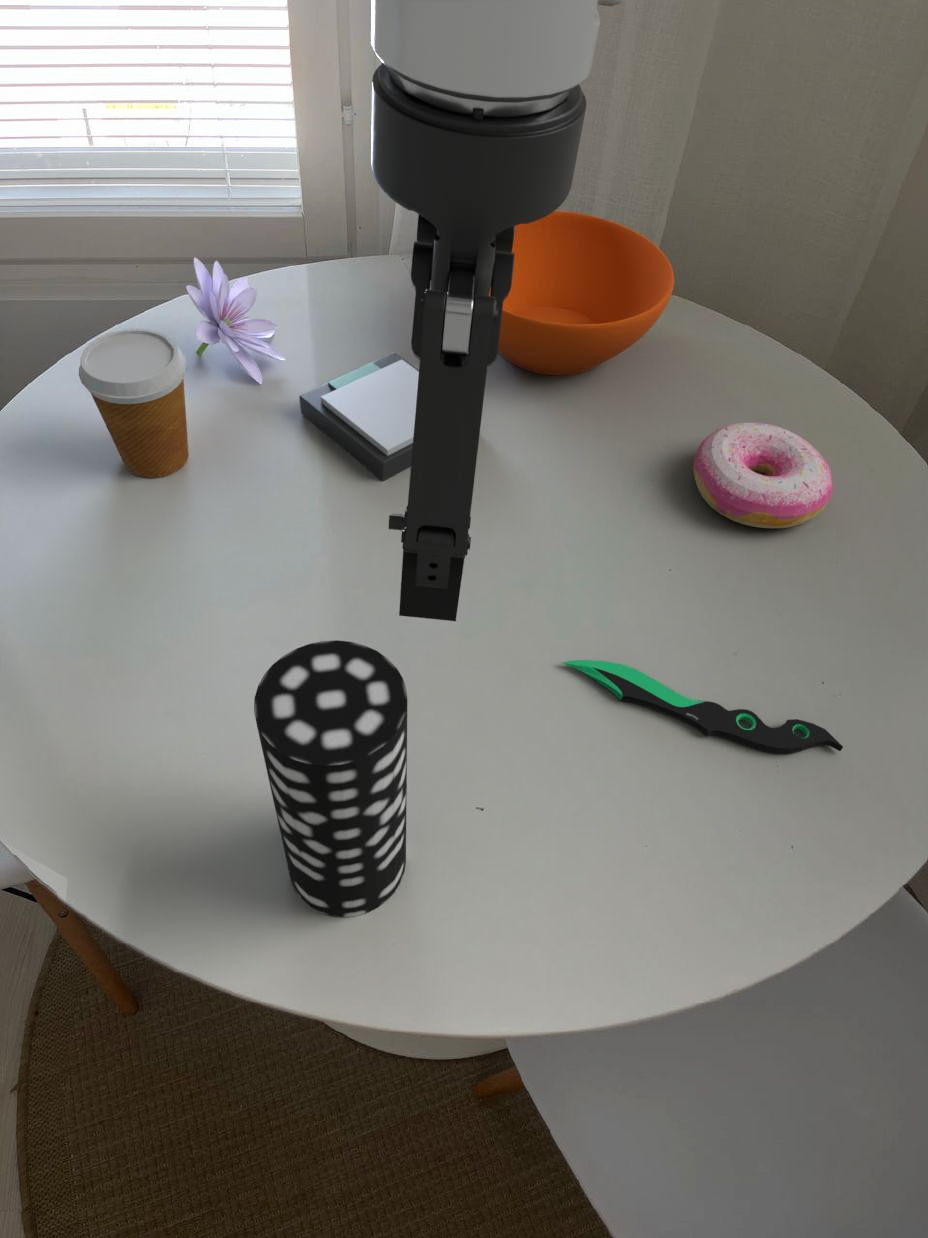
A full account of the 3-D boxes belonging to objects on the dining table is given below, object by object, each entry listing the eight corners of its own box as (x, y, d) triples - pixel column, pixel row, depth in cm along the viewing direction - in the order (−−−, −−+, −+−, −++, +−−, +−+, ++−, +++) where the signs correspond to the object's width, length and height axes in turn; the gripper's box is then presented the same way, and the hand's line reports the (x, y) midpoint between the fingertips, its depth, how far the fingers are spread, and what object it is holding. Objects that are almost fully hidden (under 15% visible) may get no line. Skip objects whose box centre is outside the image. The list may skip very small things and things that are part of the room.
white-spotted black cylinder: (294, 927, 62) (258, 777, 46) (284, 818, 67) (249, 650, 51) (414, 905, 63) (419, 752, 48) (396, 800, 68) (394, 632, 53)
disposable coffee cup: (87, 462, 90) (51, 359, 81) (159, 416, 96) (133, 314, 87) (154, 503, 87) (125, 399, 78) (225, 452, 93) (206, 350, 83)
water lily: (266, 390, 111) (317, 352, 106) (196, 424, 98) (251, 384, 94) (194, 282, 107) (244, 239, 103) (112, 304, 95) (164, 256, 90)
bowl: (659, 302, 116) (677, 225, 108) (650, 421, 100) (671, 341, 92) (466, 274, 118) (471, 197, 110) (427, 386, 102) (429, 305, 94)
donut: (667, 458, 96) (679, 420, 92) (781, 443, 99) (796, 405, 95) (721, 547, 88) (736, 509, 84) (843, 528, 90) (863, 491, 86)
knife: (846, 736, 73) (833, 784, 70) (842, 741, 74) (829, 789, 71) (578, 627, 79) (556, 667, 76) (577, 633, 80) (555, 673, 77)
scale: (300, 413, 97) (298, 388, 95) (394, 370, 103) (394, 345, 101) (383, 481, 91) (382, 456, 89) (477, 430, 97) (479, 406, 95)
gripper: (608, 276, 23) (503, 719, 40) (579, -32, 39) (512, 377, 56) (317, 242, 23) (332, 703, 40) (406, -55, 39) (390, 363, 55)
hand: (437, 513), depth 48 cm, fingers open, 13 cm apart
